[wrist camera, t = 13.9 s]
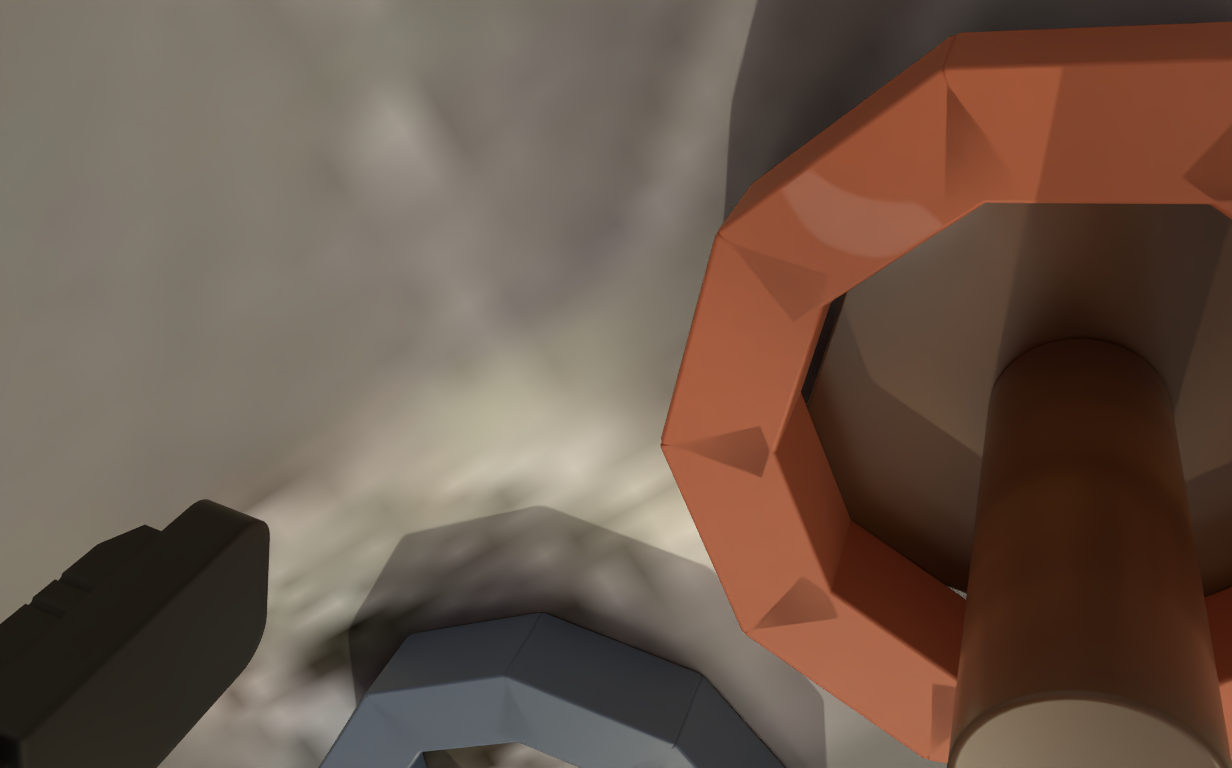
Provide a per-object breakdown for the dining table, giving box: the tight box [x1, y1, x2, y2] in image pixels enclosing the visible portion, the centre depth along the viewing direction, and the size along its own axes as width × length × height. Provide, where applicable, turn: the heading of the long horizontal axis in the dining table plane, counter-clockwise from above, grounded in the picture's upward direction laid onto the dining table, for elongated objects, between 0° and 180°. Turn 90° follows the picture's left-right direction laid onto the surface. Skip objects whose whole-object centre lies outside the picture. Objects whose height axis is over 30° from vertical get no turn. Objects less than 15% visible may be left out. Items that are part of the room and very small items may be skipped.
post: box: [807, 203, 1232, 768], centre depth 17 cm, size 9×9×10 cm
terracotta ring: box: [661, 22, 1232, 763], centre depth 19 cm, size 13×14×2 cm
